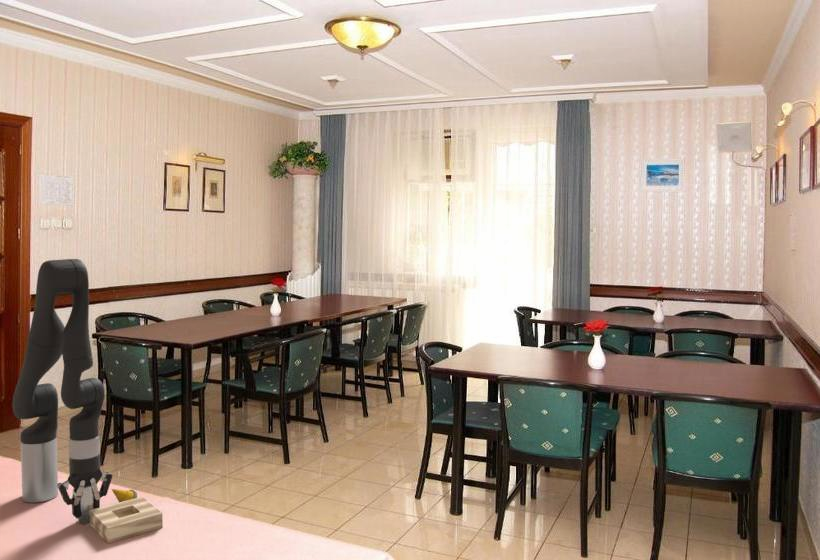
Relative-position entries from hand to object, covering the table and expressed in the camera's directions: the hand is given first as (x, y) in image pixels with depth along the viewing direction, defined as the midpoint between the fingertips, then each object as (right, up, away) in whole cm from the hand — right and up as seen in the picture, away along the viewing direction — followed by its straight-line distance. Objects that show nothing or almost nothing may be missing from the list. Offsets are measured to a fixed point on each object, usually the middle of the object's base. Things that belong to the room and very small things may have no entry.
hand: (86, 514), depth 185 cm
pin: (0, -2, 0) cm, 2 cm away
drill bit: (+7, -1, +8) cm, 11 cm away
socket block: (+12, -2, -2) cm, 12 cm away
